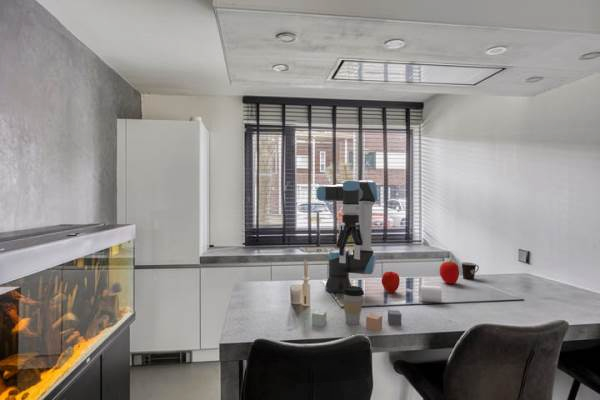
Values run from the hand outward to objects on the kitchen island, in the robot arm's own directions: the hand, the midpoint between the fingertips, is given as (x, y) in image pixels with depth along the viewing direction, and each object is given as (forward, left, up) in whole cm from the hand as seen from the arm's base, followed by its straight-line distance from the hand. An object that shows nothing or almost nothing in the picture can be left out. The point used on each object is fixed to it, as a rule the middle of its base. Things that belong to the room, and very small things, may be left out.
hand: (349, 261), depth 157 cm
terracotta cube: (+14, -5, -26) cm, 30 cm away
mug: (+22, +48, -26) cm, 59 cm away
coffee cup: (+4, -5, -26) cm, 27 cm away
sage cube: (-7, -15, -26) cm, 30 cm away
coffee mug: (+31, +112, -26) cm, 119 cm away
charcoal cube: (+19, +5, -26) cm, 33 cm away
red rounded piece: (0, +49, -26) cm, 56 cm away
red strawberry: (+22, +91, -26) cm, 98 cm away
